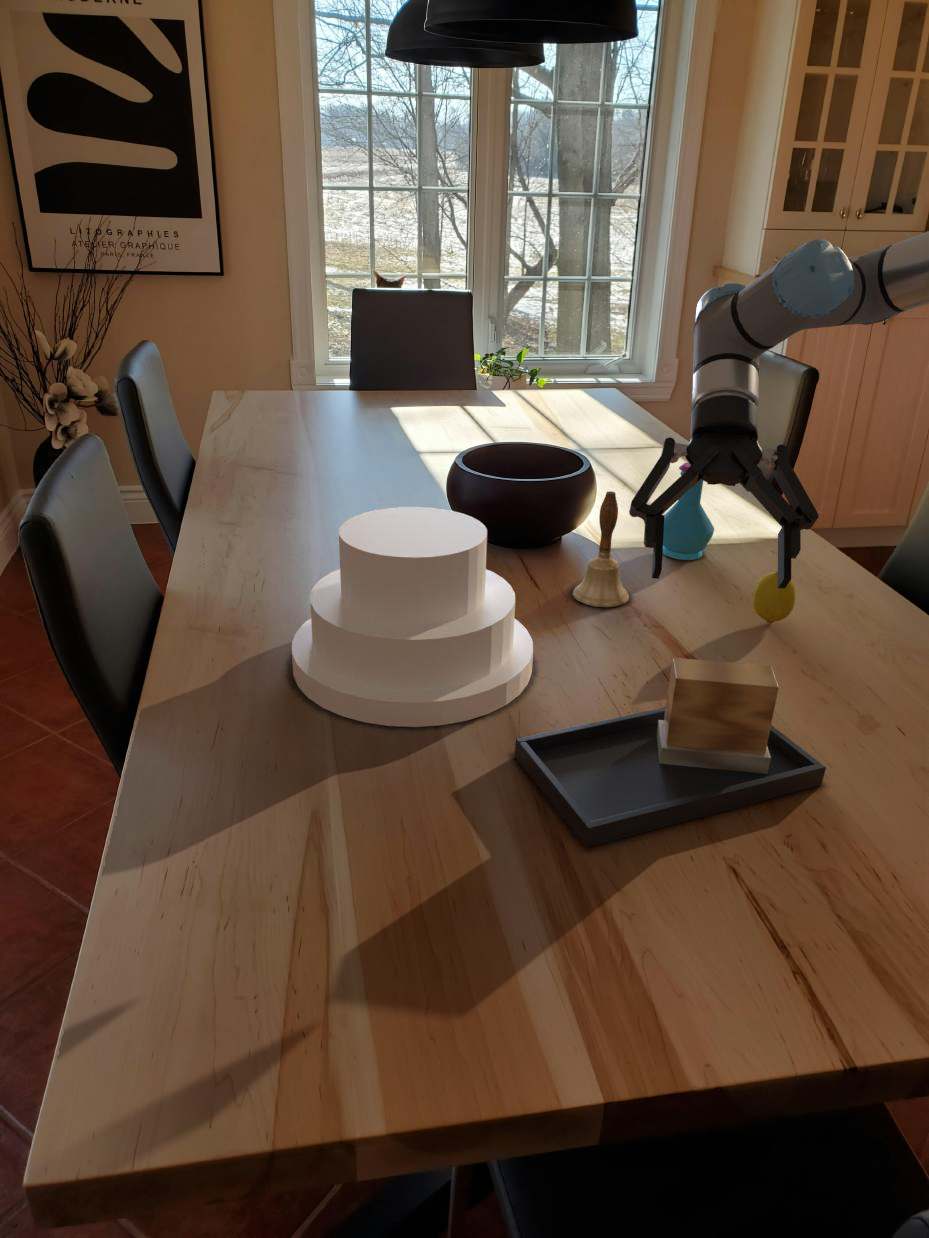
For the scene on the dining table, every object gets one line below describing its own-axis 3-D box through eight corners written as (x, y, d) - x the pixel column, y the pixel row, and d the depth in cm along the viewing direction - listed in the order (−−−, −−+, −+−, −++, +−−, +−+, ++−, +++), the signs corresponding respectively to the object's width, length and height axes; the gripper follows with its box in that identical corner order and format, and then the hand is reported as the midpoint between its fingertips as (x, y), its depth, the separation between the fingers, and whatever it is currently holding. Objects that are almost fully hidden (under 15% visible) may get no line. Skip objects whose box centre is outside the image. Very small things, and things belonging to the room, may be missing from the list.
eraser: (759, 744, 97) (775, 663, 93) (767, 774, 92) (785, 690, 88) (656, 734, 99) (667, 654, 94) (659, 763, 94) (671, 680, 89)
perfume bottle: (675, 566, 145) (688, 476, 138) (643, 546, 152) (653, 460, 146) (721, 558, 148) (735, 470, 142) (687, 540, 156) (699, 455, 149)
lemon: (778, 613, 130) (788, 562, 126) (797, 631, 125) (808, 578, 121) (742, 615, 129) (751, 564, 125) (760, 633, 124) (770, 580, 120)
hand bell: (563, 588, 136) (572, 486, 129) (613, 582, 138) (624, 482, 131) (587, 610, 129) (597, 504, 122) (638, 604, 131) (651, 500, 124)
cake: (548, 724, 101) (560, 580, 93) (279, 729, 99) (268, 581, 91) (516, 610, 128) (523, 491, 120) (304, 612, 126) (297, 490, 118)
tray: (821, 785, 92) (826, 766, 91) (586, 848, 83) (588, 828, 82) (727, 709, 105) (730, 692, 104) (514, 756, 96) (515, 738, 95)
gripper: (825, 433, 107) (828, 600, 100) (613, 420, 109) (602, 582, 103) (846, 398, 100) (850, 575, 93) (619, 385, 102) (607, 556, 96)
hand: (720, 579), depth 98 cm, fingers open, 13 cm apart
